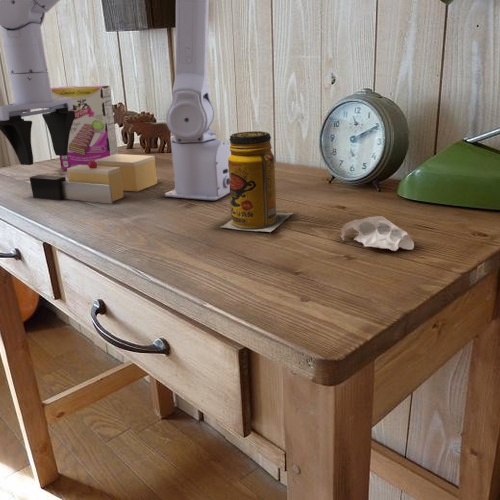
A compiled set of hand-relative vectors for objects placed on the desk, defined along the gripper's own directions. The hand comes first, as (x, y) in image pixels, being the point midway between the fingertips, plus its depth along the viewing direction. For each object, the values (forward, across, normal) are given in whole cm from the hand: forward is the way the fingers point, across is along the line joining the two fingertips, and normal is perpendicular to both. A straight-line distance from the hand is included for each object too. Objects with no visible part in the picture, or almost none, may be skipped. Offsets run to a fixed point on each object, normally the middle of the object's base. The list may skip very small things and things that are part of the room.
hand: (44, 159), depth 89 cm
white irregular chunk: (+7, +6, +56) cm, 57 cm away
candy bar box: (+7, -22, -10) cm, 25 cm away
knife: (+6, 0, +5) cm, 8 cm away
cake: (+6, -10, +8) cm, 15 cm away
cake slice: (+6, -2, +8) cm, 10 cm away
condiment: (+7, +2, +39) cm, 40 cm away
